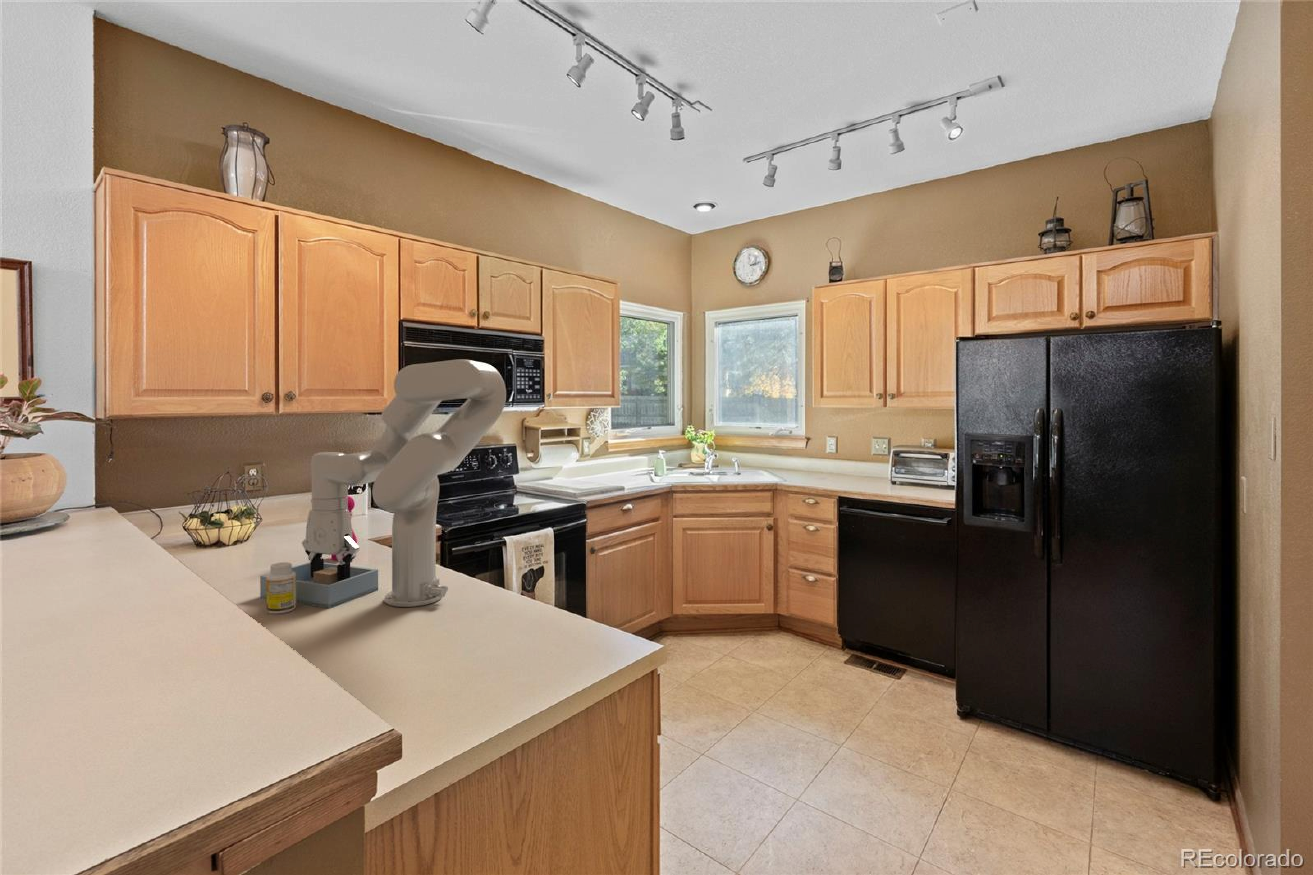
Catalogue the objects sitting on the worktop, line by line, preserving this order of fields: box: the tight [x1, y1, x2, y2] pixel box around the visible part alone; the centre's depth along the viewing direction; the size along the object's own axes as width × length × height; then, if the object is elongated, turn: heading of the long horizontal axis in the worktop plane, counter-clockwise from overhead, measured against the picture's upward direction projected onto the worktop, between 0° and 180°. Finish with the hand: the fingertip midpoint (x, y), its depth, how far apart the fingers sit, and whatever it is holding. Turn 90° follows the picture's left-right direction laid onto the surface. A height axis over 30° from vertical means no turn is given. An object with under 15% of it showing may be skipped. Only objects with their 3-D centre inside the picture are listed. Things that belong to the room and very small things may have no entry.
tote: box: [259, 561, 379, 609], centre depth 144 cm, size 21×15×5 cm
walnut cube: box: [313, 567, 339, 585], centre depth 143 cm, size 5×5×5 cm
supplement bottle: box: [266, 561, 297, 615], centre depth 132 cm, size 6×6×10 cm
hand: (330, 577), depth 143 cm, fingers open, 7 cm apart
